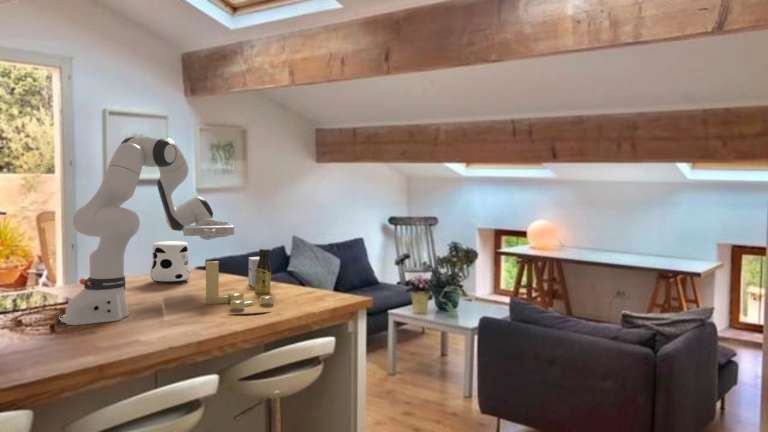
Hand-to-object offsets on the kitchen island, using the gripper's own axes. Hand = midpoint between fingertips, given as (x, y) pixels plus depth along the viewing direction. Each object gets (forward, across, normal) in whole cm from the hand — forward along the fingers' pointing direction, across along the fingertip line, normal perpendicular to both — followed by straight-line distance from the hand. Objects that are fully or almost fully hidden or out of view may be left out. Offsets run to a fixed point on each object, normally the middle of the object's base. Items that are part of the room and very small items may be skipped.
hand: (210, 232), depth 254 cm
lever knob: (+14, +4, +26) cm, 30 cm away
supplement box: (-26, +23, +28) cm, 45 cm away
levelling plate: (+21, +11, +27) cm, 36 cm away
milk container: (-44, -14, +28) cm, 54 cm away
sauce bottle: (-2, +21, +28) cm, 35 cm away
